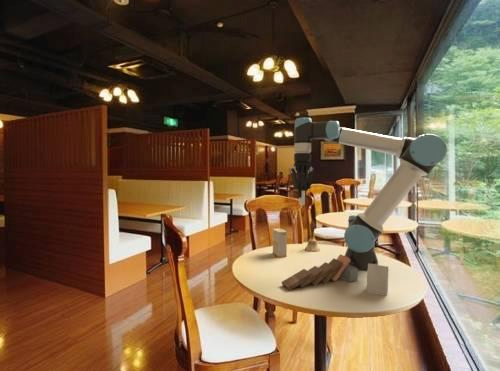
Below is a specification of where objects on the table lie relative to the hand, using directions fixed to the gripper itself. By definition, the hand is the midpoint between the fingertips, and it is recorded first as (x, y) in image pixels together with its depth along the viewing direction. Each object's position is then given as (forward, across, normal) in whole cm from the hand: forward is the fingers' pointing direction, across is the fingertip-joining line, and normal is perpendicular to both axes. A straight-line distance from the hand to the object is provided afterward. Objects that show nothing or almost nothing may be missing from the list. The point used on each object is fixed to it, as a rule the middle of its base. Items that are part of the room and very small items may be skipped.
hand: (301, 204), depth 131 cm
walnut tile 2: (+28, +14, +19) cm, 36 cm away
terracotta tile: (+28, -2, +19) cm, 34 cm away
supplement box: (+29, +1, -18) cm, 34 cm away
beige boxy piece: (+29, -10, +35) cm, 46 cm away
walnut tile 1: (+28, +20, +19) cm, 39 cm away
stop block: (+28, -9, +19) cm, 35 cm away
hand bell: (+29, -20, -19) cm, 40 cm away
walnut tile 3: (+28, +8, +19) cm, 34 cm away
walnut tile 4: (+28, +3, +19) cm, 34 cm away
